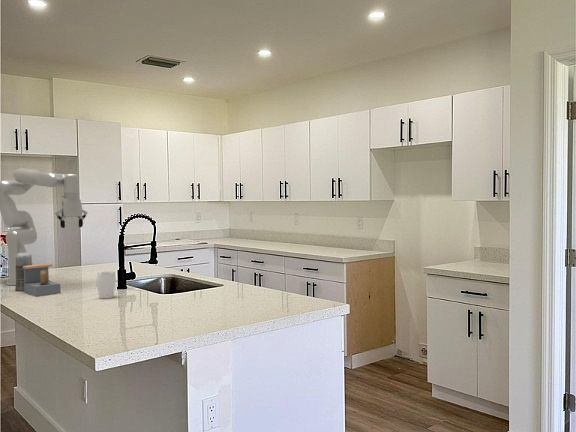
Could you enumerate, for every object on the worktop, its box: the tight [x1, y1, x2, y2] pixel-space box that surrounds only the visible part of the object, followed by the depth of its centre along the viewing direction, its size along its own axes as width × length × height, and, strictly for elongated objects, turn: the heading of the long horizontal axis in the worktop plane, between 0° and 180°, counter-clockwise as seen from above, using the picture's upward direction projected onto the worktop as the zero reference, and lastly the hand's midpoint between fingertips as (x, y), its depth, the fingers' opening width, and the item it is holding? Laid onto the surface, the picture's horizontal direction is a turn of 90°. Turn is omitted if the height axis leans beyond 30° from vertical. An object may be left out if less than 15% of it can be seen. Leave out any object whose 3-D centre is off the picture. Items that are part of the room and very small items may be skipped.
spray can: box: [15, 251, 33, 292], centre depth 276 cm, size 8×8×20 cm
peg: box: [40, 269, 49, 285], centre depth 265 cm, size 4×4×12 cm
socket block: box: [23, 263, 61, 298], centre depth 267 cm, size 16×13×14 cm
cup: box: [95, 271, 117, 299], centre depth 255 cm, size 9×9×12 cm
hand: (71, 227), depth 284 cm, fingers open, 9 cm apart
